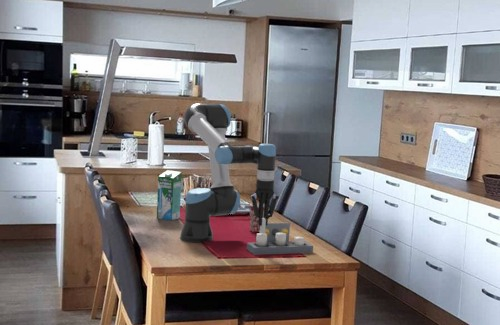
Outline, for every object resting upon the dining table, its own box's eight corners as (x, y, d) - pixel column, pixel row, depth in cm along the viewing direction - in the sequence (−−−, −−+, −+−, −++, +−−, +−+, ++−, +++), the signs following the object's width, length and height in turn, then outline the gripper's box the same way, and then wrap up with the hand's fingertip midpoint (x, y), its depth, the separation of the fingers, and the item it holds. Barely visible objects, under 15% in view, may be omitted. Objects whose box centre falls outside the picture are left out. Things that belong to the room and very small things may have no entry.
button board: (253, 257, 287) (254, 247, 287) (246, 251, 295) (247, 242, 295) (312, 254, 297) (313, 245, 296) (304, 249, 305) (304, 240, 305)
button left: (258, 246, 290) (259, 235, 289) (254, 244, 294) (255, 233, 293) (268, 246, 291) (268, 235, 291) (264, 243, 295) (265, 232, 295)
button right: (295, 250, 296) (296, 239, 296) (291, 247, 300) (292, 236, 300) (305, 249, 298) (306, 238, 297) (301, 247, 302) (301, 236, 301)
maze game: (259, 208, 396) (259, 203, 396) (269, 216, 377) (270, 210, 377) (201, 209, 386) (201, 203, 385) (209, 216, 367) (209, 210, 367)
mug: (268, 233, 332) (269, 207, 331) (250, 233, 330) (252, 206, 329) (261, 227, 345) (263, 202, 343) (244, 227, 342) (246, 201, 341)
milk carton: (156, 218, 351) (158, 171, 348) (164, 215, 360) (166, 169, 357) (171, 220, 348) (173, 173, 345) (179, 218, 356) (181, 171, 353)
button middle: (277, 246, 293) (278, 235, 292) (273, 243, 297) (274, 232, 296) (287, 245, 294) (287, 234, 294) (283, 243, 299) (283, 232, 298)
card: (259, 249, 300) (261, 223, 298) (259, 249, 301) (260, 223, 299) (288, 248, 304) (290, 223, 303) (287, 248, 305) (289, 222, 304)
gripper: (254, 180, 283) (251, 235, 286) (282, 180, 288) (279, 234, 290) (248, 178, 290) (245, 231, 293) (276, 178, 295) (272, 230, 297)
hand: (262, 232), depth 292 cm, fingers closed
